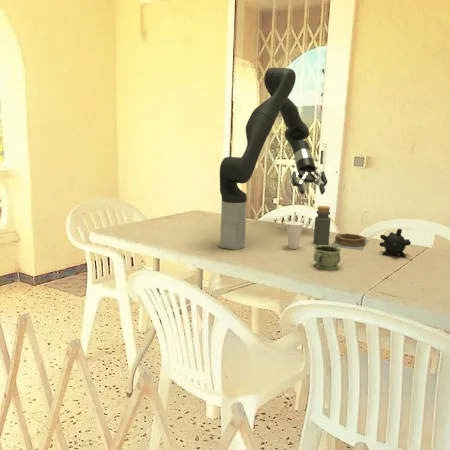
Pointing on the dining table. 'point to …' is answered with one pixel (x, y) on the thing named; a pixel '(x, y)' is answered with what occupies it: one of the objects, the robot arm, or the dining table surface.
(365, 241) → the mat
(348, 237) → the ring
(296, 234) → the smoothie
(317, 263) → the vessel
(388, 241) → the toy ball
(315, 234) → the bottle
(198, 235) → the dining table surface
